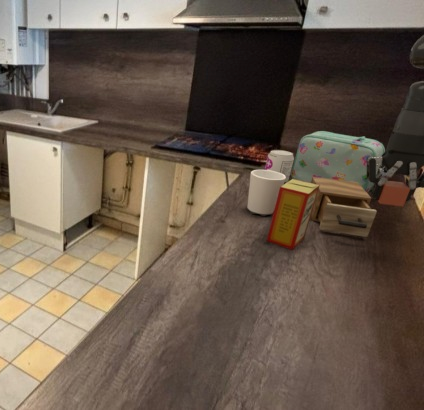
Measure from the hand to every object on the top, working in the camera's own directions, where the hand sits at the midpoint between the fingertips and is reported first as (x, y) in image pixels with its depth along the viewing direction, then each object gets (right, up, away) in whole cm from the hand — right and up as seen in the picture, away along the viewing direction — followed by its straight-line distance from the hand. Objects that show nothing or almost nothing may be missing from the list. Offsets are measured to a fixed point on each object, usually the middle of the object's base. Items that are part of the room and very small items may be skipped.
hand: (388, 200), depth 87 cm
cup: (-18, -4, +28) cm, 33 cm away
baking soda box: (-19, -11, +11) cm, 24 cm away
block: (0, 0, 0) cm, 0 cm away
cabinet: (+4, -4, +26) cm, 27 cm away
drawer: (0, -8, +17) cm, 18 cm away
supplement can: (-5, +3, +44) cm, 44 cm away
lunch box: (+18, +4, +47) cm, 51 cm away
